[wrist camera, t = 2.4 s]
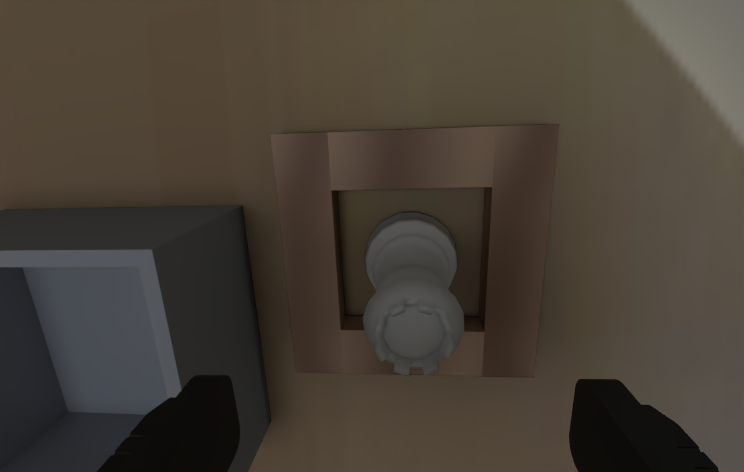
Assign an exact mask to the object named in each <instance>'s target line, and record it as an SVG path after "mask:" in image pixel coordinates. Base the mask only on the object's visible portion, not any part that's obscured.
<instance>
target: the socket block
mask: <svg viewBox="0 0 744 472" xmlns="http://www.w3.org/2000/svg"><path fill="white" fill-rule="evenodd" d="M558 132H559V124H535V125H507V126H479V127H451V128H423V129H395V130H368V131H340V132H312V133H284V134H271V144H272V153H273V162H274V171H275V181H276V190H277V199H278V209H279V218H280V227H281V237H282V246H283V255H284V264H285V274H286V283H287V292H288V302H289V311H290V320H291V330H292V339H293V348H294V357H295V367H296V372H317V373H358V374H399V373H396V372H393V368H394V363H391V362H388V361H387V360H386V359H385V360H384V361H382V362H380V360H379V358H378V356H377V355H376V353H375V351H374V350H373V348H372V346H371V345H370V343H369V341H368V340H367V338H366V336H365V333H364V324H363V316H345V305H344V289H343V273H342V256H341V240H340V224H339V208H338V192H337V190H378V189H425V188H472V187H485V197H484V217H483V237H482V258H481V278H480V298H479V317H464V333H463V335H462V337H461V340H460V342H459V344H458V347H457V348H456V349H455V350H454V353H453V355H452V357H451V360H450V359H448V358H445V359H444V360H442V361H440V362H438V364H439V371H436V372H433V373H431V374H428V375H441V376H482V377H524V378H534V370H535V361H536V351H537V341H538V331H539V321H540V311H541V301H542V291H543V281H544V271H545V261H546V251H547V241H548V231H549V221H550V211H551V201H552V191H553V182H554V172H555V162H556V152H557V142H558ZM399 375H402V374H399ZM409 375H424V372H423V369H422V367H410V370H409Z"/></svg>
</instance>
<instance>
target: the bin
mask: <svg viewBox="0 0 744 472" xmlns="http://www.w3.org/2000/svg"><path fill="white" fill-rule="evenodd" d="M195 375H228V376H229V377H230V378H231V380H232V384H233V390H234V395H235V401H236V407H237V412H238V418H239V423H240V441H239V446H238V449H237V453H236V455H235V457H234V460H233V462H232V464H231V466H230V468H229V470H228V472H248V471H249V468H250V466H251V464H252V462H253V460H254V457H255V455H256V453H257V451H258V449H259V446H260V444H261V442H262V440H263V438H264V435H265V433H266V431H267V429H268V427H269V424H270V422H271V417H270V409H269V402H268V394H267V387H266V380H265V372H264V365H263V357H262V350H261V343H260V335H259V328H258V320H257V313H256V306H255V298H254V291H253V283H252V276H251V269H250V261H249V254H248V246H247V239H246V232H245V224H244V217H243V209H242V205H234V206H178V207H122V208H67V209H11V210H0V472H97V471H98V469H99V468H100V467H101V466H102V465H103V464H104V463H105V461H106V460H107V459H108V458H109V457H110V456H111V455H114V454H115V450H116V449H117V448H118V446H119V445H120V444H121V443H122V442H123V441H124V440H125V438H126V437H129V436H130V433H131V432H132V430H133V429H134V428H135V427H136V426H137V425H138V424H139V422H140V421H141V420H142V419H143V418H144V417H145V416H146V414H147V413H149V412H150V411H152V410H153V409H154V408H156V407H157V406H159V405H160V404H161V403H163V402H164V401H166V400H167V399H168V398H170V397H176V396H177V395H178V394H179V393H180V391H181V390H182V389H183V388H184V387H185V385H186V384H187V383H188V382H189V380H190V379H191V378H192V377H194V376H195Z"/></svg>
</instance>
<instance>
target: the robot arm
mask: <svg viewBox="0 0 744 472" xmlns="http://www.w3.org/2000/svg"><path fill="white" fill-rule="evenodd" d="M239 441H240V423H239V418H238V412H237V407H236V401H235V395H234V390H233V384H232V380H231V378H230V377H229V376H228V375H195V376H194V377H192V378H191V379H190V380H189V382H188V383H187V384H186V385H185V387H184V388H183V389H182V390H181V391H180V393H179V394H178V395H177V396H176V397H170V398H168V399H167V400H166V401H164V402H163V403H161V404H160V405H159V406H157V407H156V408H154V409H153V410H152V411H150V412H149V413H147V414H146V416H145V417H144V418H143V419H142V420H141V421H140V422H139V424H138V425H137V426H136V427H135V428H134V429H133V430H132V432H131V433H130V436H129V437H126V438H125V440H124V441H123V442H122V443H121V444H120V445H119V446H118V448H117V449H116V450H115V454H114V455H111V456H110V457H109V458H108V459H107V460H106V461H105V463H104V464H103V465H102V466H101V467H100V468H99V469H98V471H97V472H228V470H229V468H230V466H231V464H232V462H233V460H234V457H235V455H236V453H237V449H238V446H239ZM569 442H570V449H571V454H572V457H573V461H574V463H575V466H576V468H577V470H578V472H719V471H718V467H717V466H716V465H715V464H714V463H713V462H712V461H711V460H710V459H709V458H708V456H707V455H706V454H705V453H704V452H700V450H699V447H698V446H697V445H696V443H695V442H694V441H693V440H692V439H691V438H690V437H689V436H688V435H687V434H686V433H685V432H684V430H683V429H682V428H681V427H680V426H679V425H678V424H677V423H675V422H674V421H672V420H671V419H669V418H668V417H666V416H665V415H664V414H662V413H661V412H659V411H658V410H656V409H655V408H653V407H652V406H650V405H641V404H640V403H639V402H638V401H637V400H636V399H635V397H634V396H633V395H632V394H631V393H630V391H629V390H628V389H627V388H626V387H625V386H624V385H623V383H622V382H620V381H619V380H616V379H580V380H578V381H577V383H576V387H575V394H574V402H573V409H572V417H571V425H570V433H569Z"/></svg>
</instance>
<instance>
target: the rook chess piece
mask: <svg viewBox="0 0 744 472" xmlns="http://www.w3.org/2000/svg"><path fill="white" fill-rule="evenodd" d="M365 254H366V255H365V263H366V272H367V275H368V277H369V279H370V281H371V283H372V284H373V286H374V288H375V290H376V292H375V294H374V295H373V296H372V297H371V299H370V300H369V301H368V303H367V306H366V309H365V312H364V316H363V324H364V333H365V336H366V338H367V340H368V341H369V343H370V345H371V346H372V348H373V350H374V351H375V353H376V355H377V356H378V358H379V360H380V362H382V361H384V360H385V359H386V360H387V361H388V362H391V363H394V368H393V372H396V373H399V374H402V375H405V376H409V370H410V367H422V369H423V372H424V375H425V376H426V375H428V374H431V373H433V372H436V371H439V364H438V362H440V361H442V360H444V359H445V358H448V359H450V360H451V357H452V355H453V353H454V350H455V349H456V348H457V347H458V344H459V342H460V340H461V337H462V335H463V333H464V313H463V311H462V309H461V307H460V305H459V303H458V301H457V299H456V297H455V296H454V295H453V294H452V293H450V291H449V289H448V288H449V287H450V285H451V283H452V280H453V277H454V275H455V272H456V270H457V252H456V245H455V243H454V241H453V239H452V237H451V235H450V233H449V231H448V229H447V228H446V227H445V226H443V225H442V224H441V223H440V222H439V221H437V220H436V219H435V218H433V217H430V216H427V215H424V214H421V213H417V212H412V213H399V214H396V215H394V216H392V217H390V218H388V219H386V220H384V221H382V222H381V223H380V224H379V225H378V227H377V228H376V229H375V230H374V231H373V232H372V234H371V235H370V237H369V241H368V244H367V247H366V250H365Z"/></svg>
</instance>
